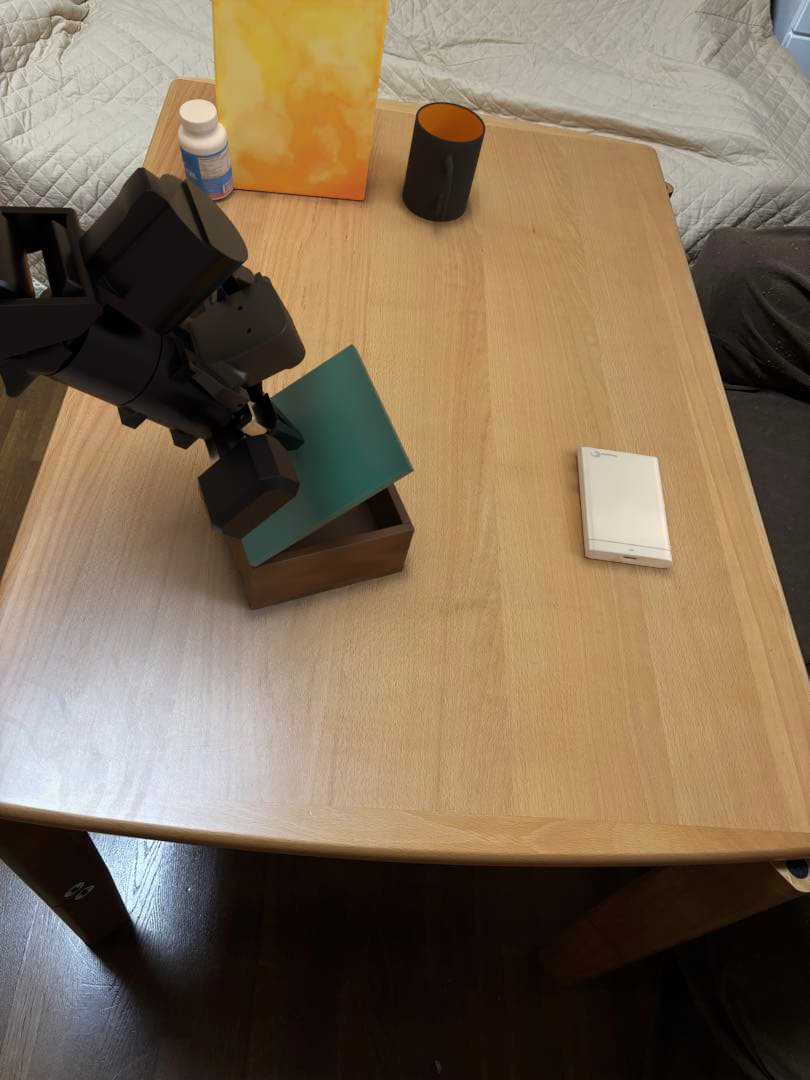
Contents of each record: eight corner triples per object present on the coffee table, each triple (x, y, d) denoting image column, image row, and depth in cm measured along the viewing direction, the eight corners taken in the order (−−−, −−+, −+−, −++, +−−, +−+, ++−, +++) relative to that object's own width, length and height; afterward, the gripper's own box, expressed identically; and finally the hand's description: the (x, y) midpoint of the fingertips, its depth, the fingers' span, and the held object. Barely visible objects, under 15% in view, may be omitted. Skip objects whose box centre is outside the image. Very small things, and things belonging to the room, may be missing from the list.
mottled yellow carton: (359, 143, 105) (383, -69, 85) (363, 201, 98) (391, -14, 79) (223, 129, 102) (216, -95, 82) (219, 188, 95) (209, -40, 76)
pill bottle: (182, 177, 95) (166, 99, 87) (226, 167, 97) (214, 89, 88) (196, 206, 93) (180, 130, 84) (240, 196, 94) (229, 119, 86)
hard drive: (581, 445, 80) (590, 548, 73) (659, 456, 81) (675, 560, 74) (575, 455, 81) (584, 558, 75) (652, 466, 82) (667, 569, 75)
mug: (402, 236, 96) (417, 155, 87) (401, 177, 103) (415, 96, 94) (469, 244, 97) (490, 166, 89) (464, 185, 104) (483, 107, 95)
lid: (356, 348, 63) (352, 343, 63) (414, 471, 57) (410, 466, 57) (213, 442, 66) (207, 438, 66) (254, 567, 61) (249, 564, 60)
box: (355, 462, 76) (363, 415, 71) (402, 571, 71) (415, 529, 65) (214, 491, 72) (210, 443, 66) (252, 610, 66) (251, 569, 61)
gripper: (267, 392, 40) (427, 477, 53) (182, 170, 49) (337, 290, 62) (128, 513, 44) (308, 566, 57) (71, 289, 53) (239, 378, 66)
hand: (299, 442), depth 60 cm, fingers closed
